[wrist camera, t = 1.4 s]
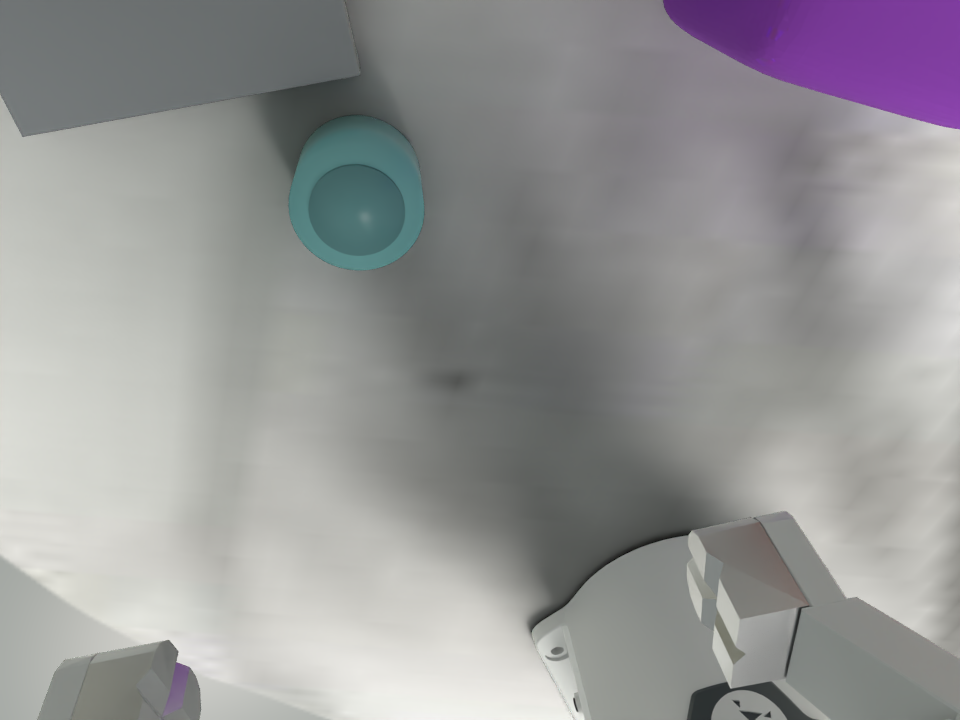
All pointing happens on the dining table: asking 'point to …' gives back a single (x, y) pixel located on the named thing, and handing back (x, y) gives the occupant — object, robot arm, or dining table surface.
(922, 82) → the toy camera
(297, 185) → the cap
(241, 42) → the board
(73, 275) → the dining table surface
